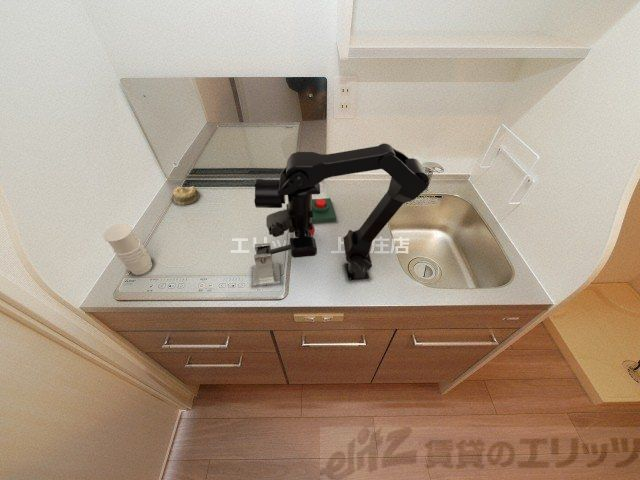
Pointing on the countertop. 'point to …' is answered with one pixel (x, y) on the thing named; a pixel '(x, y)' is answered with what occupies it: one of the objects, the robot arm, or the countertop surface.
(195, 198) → the cake
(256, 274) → the bracket
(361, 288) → the countertop surface
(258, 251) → the lever
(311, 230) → the onion
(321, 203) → the button
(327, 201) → the control box
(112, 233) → the candle
